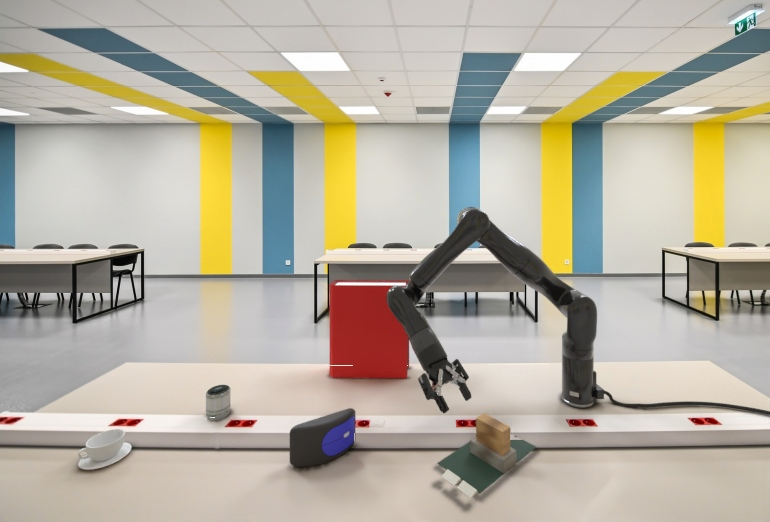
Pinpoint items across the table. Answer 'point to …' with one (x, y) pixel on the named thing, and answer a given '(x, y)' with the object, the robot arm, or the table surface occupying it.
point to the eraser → (493, 443)
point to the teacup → (104, 449)
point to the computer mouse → (322, 438)
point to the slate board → (480, 465)
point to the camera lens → (218, 402)
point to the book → (366, 331)
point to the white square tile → (451, 477)
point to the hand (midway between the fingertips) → (458, 405)
